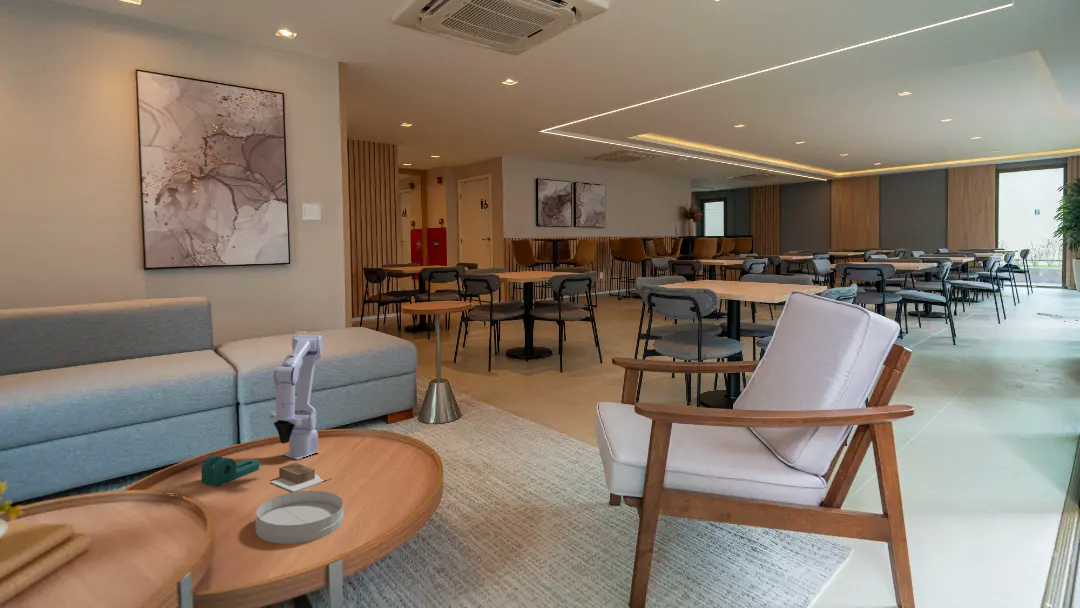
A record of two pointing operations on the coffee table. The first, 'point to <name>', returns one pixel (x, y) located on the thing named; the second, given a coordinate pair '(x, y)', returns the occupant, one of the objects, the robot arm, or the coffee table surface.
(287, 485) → the grey mat
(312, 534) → the dish
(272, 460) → the coffee table surface
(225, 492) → the coffee table surface
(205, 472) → the bracket
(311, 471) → the walnut block
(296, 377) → the robot arm
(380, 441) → the coffee table surface
